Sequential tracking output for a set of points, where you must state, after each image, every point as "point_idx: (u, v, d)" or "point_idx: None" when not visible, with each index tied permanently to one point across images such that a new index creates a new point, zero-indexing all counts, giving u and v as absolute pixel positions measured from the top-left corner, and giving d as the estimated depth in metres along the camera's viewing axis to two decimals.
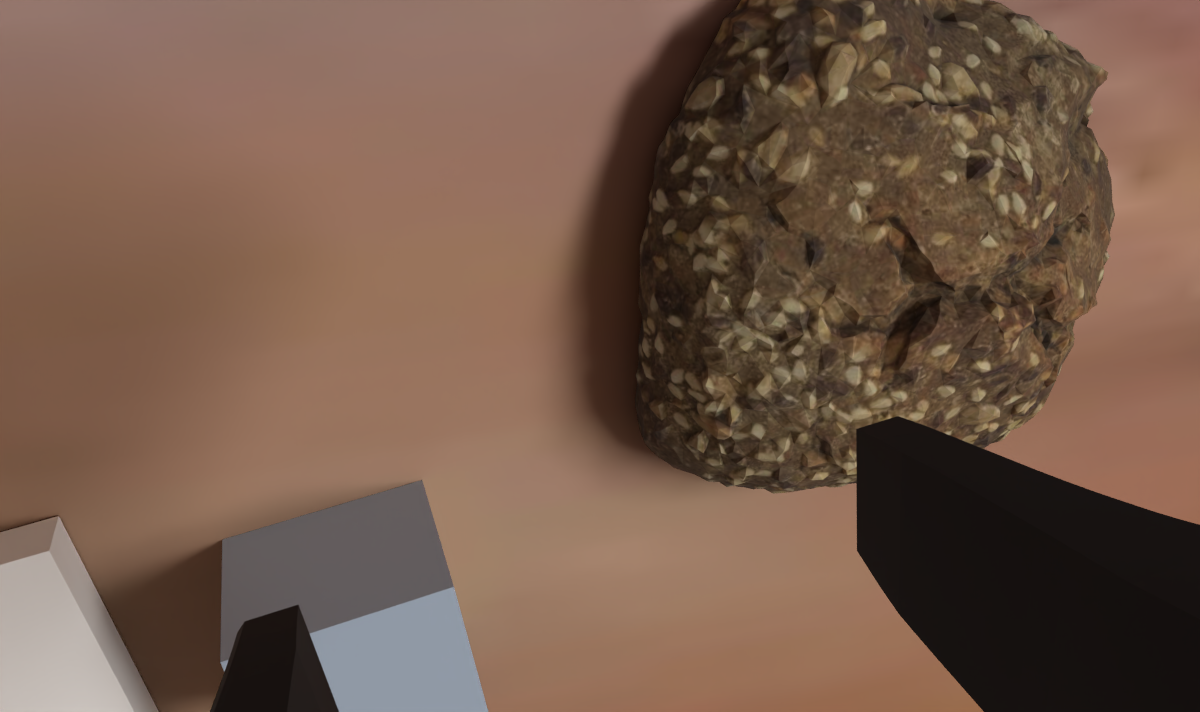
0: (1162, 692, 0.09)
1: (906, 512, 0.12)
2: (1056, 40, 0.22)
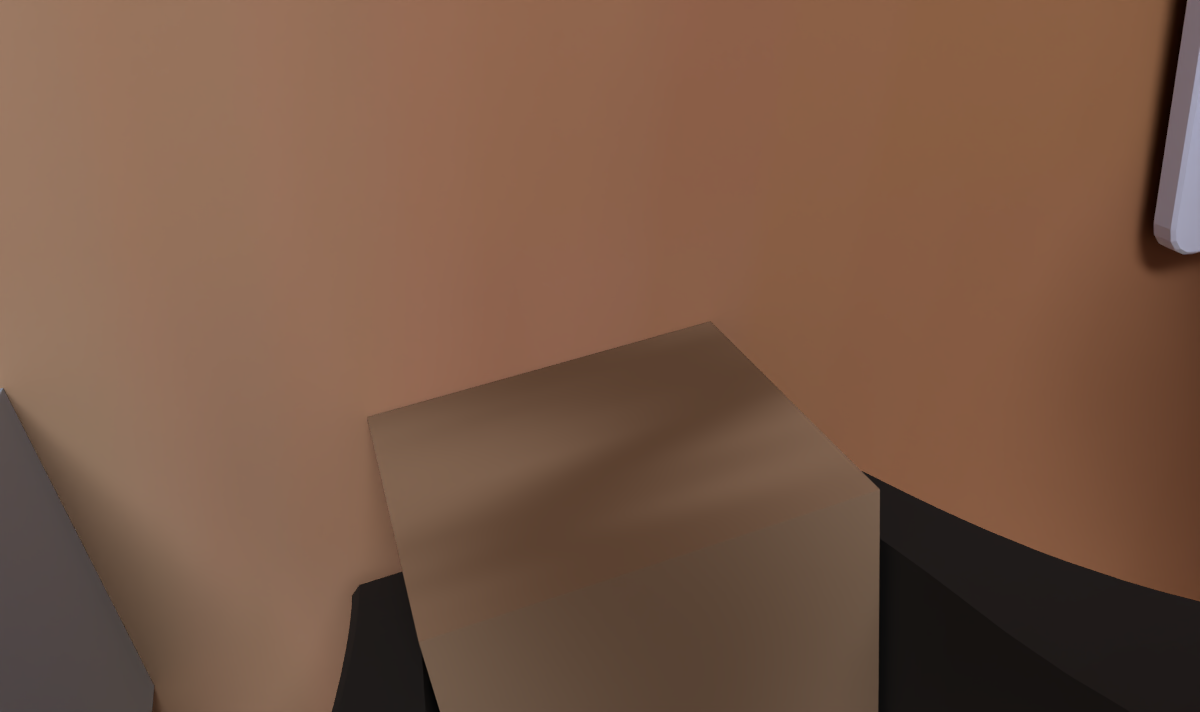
0: None
1: None
2: None
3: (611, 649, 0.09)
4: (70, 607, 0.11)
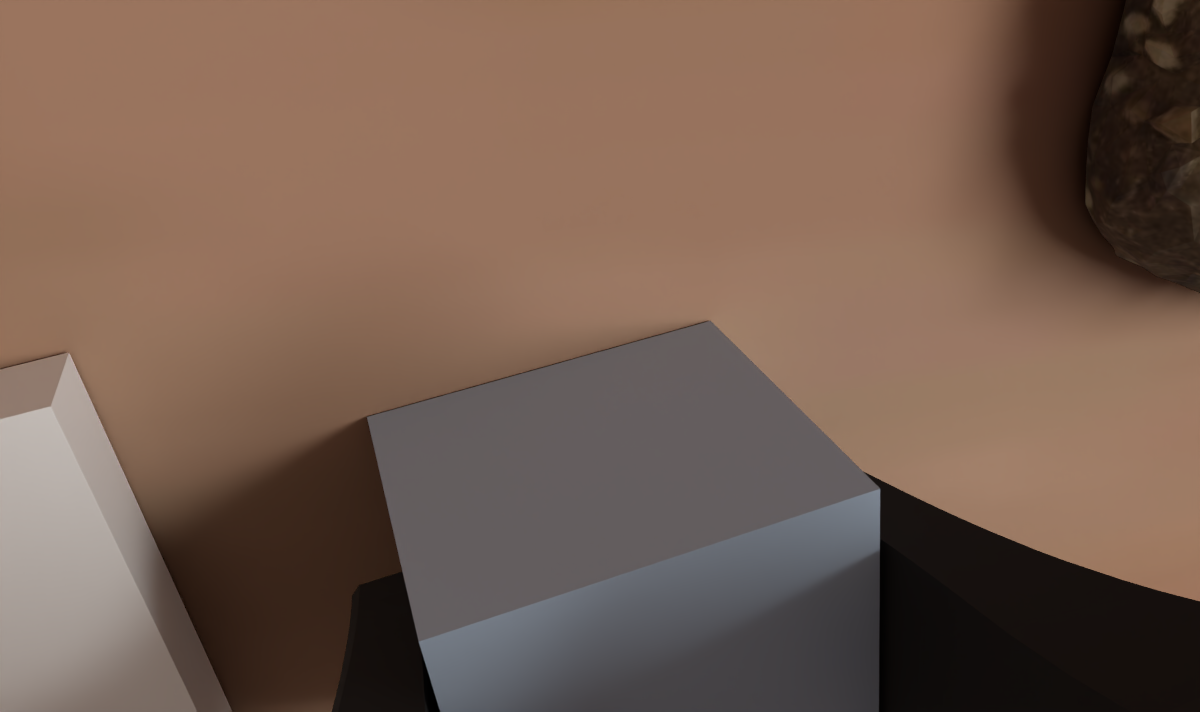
0: None
1: None
2: None
3: None
4: None
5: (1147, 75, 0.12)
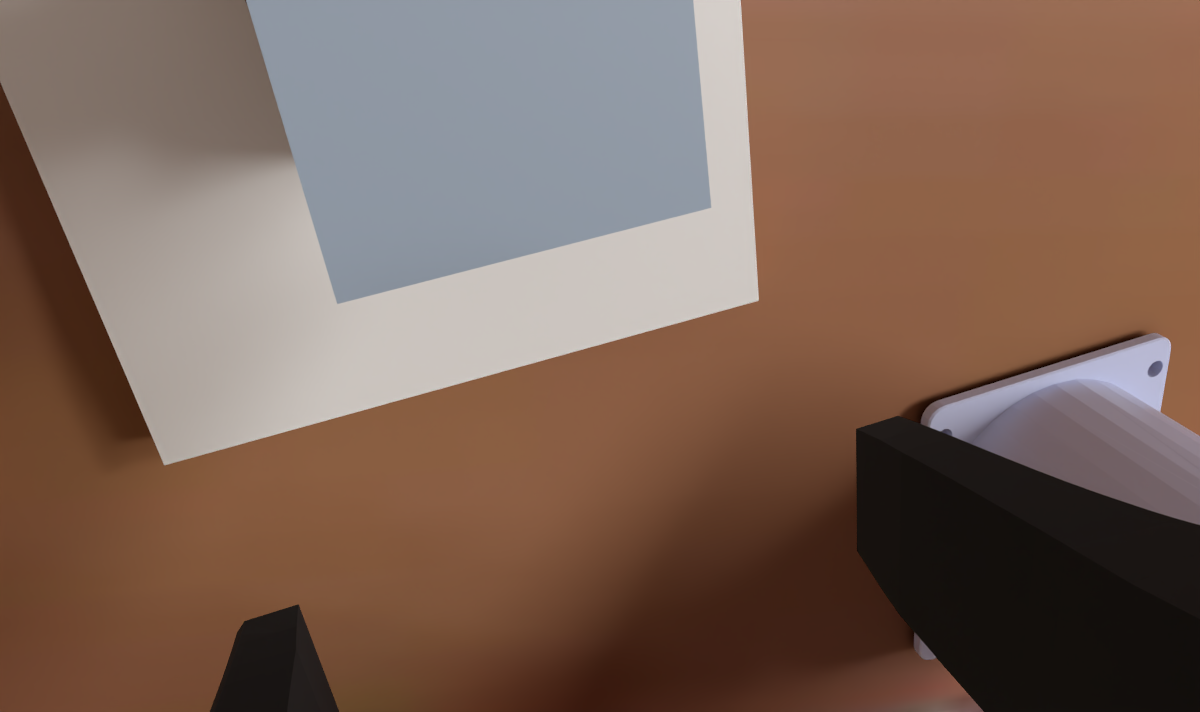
0: (1162, 692, 0.09)
1: (906, 512, 0.12)
2: None
3: None
4: None
5: None
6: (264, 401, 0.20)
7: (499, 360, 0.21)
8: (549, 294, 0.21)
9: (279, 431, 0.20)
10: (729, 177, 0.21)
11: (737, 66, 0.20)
